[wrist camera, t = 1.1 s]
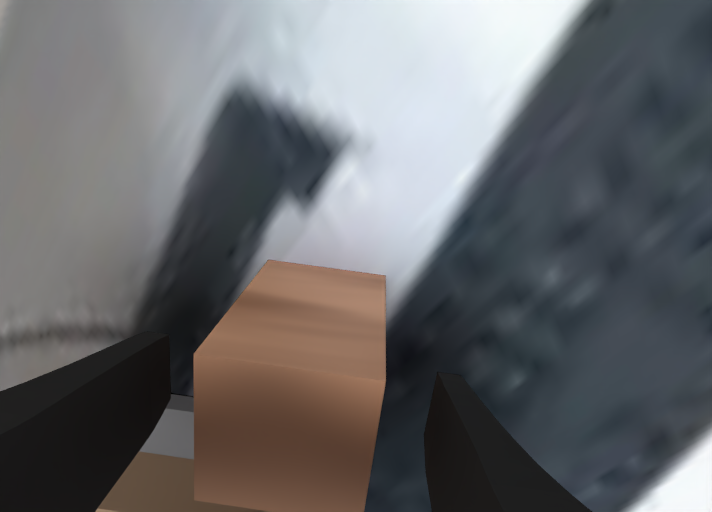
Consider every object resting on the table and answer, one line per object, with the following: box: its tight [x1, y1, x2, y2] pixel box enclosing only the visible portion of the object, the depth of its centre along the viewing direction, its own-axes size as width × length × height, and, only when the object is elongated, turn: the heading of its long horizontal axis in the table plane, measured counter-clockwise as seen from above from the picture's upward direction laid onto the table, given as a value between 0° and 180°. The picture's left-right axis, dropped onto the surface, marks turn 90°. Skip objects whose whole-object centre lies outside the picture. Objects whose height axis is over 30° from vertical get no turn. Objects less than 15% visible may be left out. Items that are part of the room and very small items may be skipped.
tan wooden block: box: [194, 260, 386, 512], centre depth 12 cm, size 4×4×6 cm
